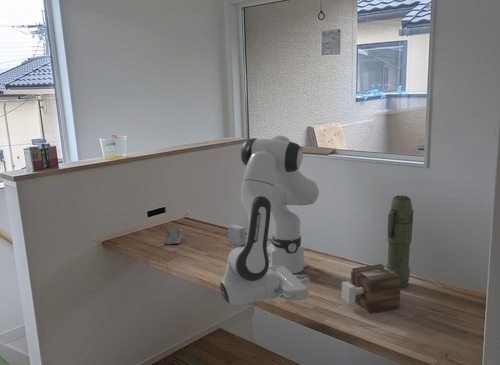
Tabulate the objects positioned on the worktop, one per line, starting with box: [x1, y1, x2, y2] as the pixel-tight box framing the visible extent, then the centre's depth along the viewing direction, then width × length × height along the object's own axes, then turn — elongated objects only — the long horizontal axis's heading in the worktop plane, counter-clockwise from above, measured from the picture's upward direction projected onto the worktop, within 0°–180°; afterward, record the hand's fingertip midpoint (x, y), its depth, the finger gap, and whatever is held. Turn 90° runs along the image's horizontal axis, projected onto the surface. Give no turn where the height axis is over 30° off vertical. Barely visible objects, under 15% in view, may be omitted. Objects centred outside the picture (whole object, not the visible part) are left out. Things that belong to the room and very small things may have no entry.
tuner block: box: [352, 263, 402, 315], centre depth 170 cm, size 12×12×12 cm
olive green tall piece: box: [385, 195, 414, 290], centre depth 185 cm, size 9×12×35 cm
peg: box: [341, 267, 384, 305], centre depth 169 cm, size 5×16×10 cm, turn 109°
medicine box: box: [227, 224, 247, 247], centre depth 236 cm, size 8×4×9 cm, turn 49°
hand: (308, 279), depth 162 cm, fingers closed
